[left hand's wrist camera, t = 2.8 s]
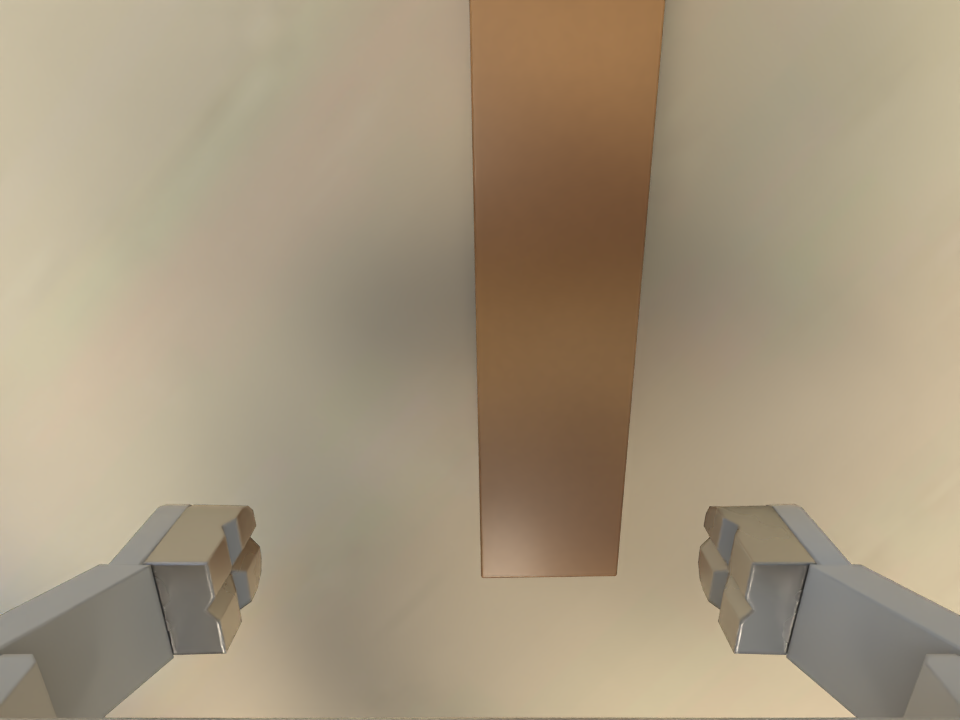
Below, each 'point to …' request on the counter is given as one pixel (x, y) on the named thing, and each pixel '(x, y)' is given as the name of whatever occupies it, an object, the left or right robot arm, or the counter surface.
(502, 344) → the post
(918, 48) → the counter surface
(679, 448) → the counter surface
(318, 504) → the counter surface
